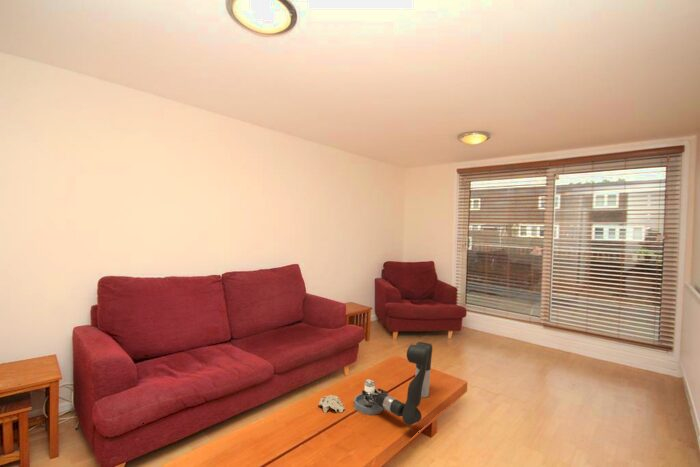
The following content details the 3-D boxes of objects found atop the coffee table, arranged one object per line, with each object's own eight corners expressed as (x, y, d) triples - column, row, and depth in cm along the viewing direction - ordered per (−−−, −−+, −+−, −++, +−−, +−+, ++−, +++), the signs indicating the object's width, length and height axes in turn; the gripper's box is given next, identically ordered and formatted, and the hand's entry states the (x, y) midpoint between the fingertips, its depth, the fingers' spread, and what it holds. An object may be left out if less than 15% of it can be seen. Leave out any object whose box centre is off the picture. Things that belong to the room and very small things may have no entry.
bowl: (364, 395, 206) (365, 390, 206) (388, 406, 195) (388, 400, 195) (348, 406, 192) (348, 400, 192) (372, 418, 182) (372, 412, 182)
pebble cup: (367, 398, 198) (368, 376, 198) (376, 402, 194) (377, 379, 194) (361, 402, 193) (362, 379, 193) (370, 406, 189) (371, 383, 189)
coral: (346, 410, 188) (346, 401, 188) (327, 416, 181) (327, 407, 181) (332, 398, 201) (333, 390, 201) (314, 403, 194) (315, 394, 194)
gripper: (396, 391, 188) (375, 380, 200) (379, 399, 178) (358, 387, 190) (395, 404, 188) (374, 392, 200) (378, 413, 178) (357, 400, 191)
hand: (366, 390), depth 195 cm, fingers closed on pebble cup, 6 cm apart
